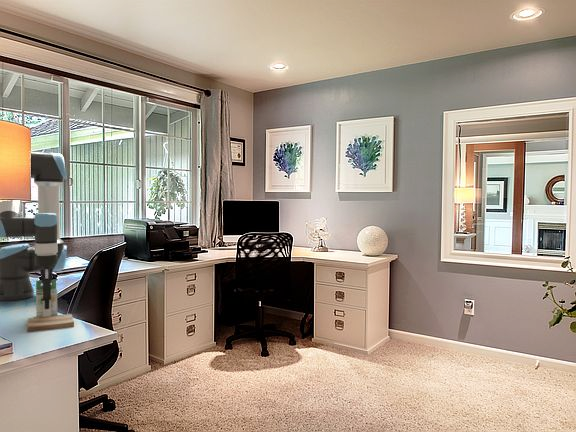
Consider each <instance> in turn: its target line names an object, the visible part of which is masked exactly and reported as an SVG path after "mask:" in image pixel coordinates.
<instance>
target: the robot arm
mask: <svg viewBox="0 0 576 432" xmlns="http://www.w3.org/2000/svg"><path fill="white" fill-rule="evenodd" d="M30 152H31V178H30V179H33V183H34V184H35V185H36V186H37V202H38V204H37V208H38V210H37V213H35V214H34V217H33V216H32V217H30V216H27V217H24V216H23V217H22V210H23V209H22V207H23V205H22V204H23V200H22V201H21V200H11V201H2V202H0V238H18V237H19V238H20V237H21V238H22V237H23V238H26V237H27V238H28V237H34V245H33V246H31V245H30V243H20V244H12V245H8V246H3V247H1V248H0V301H1V302H7V301H8V302H10V301H20V300H25V299H29V298H33V297H35V290H34V287H33V284H32V282H31V279H30V274H32V273H34V274H35V273H39V274H40V276H41V277H40V278H41V281H42V282H43V283H42V285H43V299H41V301H43V317H47V316H51V285H52V283H51V281H52V280H53V273H54V272H59V271H62V270H64V268H65V266H66V259H67V253H68V250H67V249H68V246H67V245H66V244H64V243H65V242H64V240H63V239H61V232H60V231H61V228H60V227H61V222H60V221H61V220H60V219H61V216H60V214H61V212H60V208H61V207H60V206H61V205H60V202H61V201H60V200H61V199H60V196H61V195H60V193H61V192H60V187H61V185H63V184H64V180H66V179H67V171H66V166H65V165H66V164H65V158H64V156H63V155H62V154H61V153H55V152H42V151H41V152H39V151H30Z"/></svg>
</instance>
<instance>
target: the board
mask: <svg viewBox="0 0 576 432" xmlns="http://www.w3.org/2000/svg"><path fill="white" fill-rule="evenodd" d="M74 326H75V321H74V317H73V315H72V313H67V314H65V313H64V314H57V315H56V316H47V317H38V318H37V317H31V318H27V326H26V327H27V328H26V329H27V330H26V332H27V333H28V332H37V331H46V330H53V329H54V330H55V329H62V328H71V327H74Z"/></svg>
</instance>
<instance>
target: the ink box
mask: <svg viewBox="0 0 576 432" xmlns="http://www.w3.org/2000/svg"><path fill="white" fill-rule="evenodd" d="M41 299H43V282H42V281H41V280H36V281H35V303H36V304H35V306H36V309H35V310H36V313H35V315H36V317H35V318H38V317H43V301H41ZM56 315H58V289H57V279H52V281H51V316H56Z"/></svg>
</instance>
